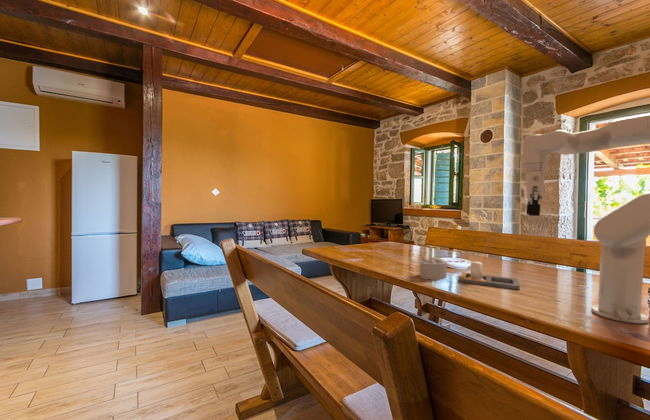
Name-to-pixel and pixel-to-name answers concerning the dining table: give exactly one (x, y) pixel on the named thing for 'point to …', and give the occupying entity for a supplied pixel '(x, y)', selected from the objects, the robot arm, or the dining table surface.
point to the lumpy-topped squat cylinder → (433, 268)
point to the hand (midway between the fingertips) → (532, 214)
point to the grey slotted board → (490, 283)
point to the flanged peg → (476, 270)
